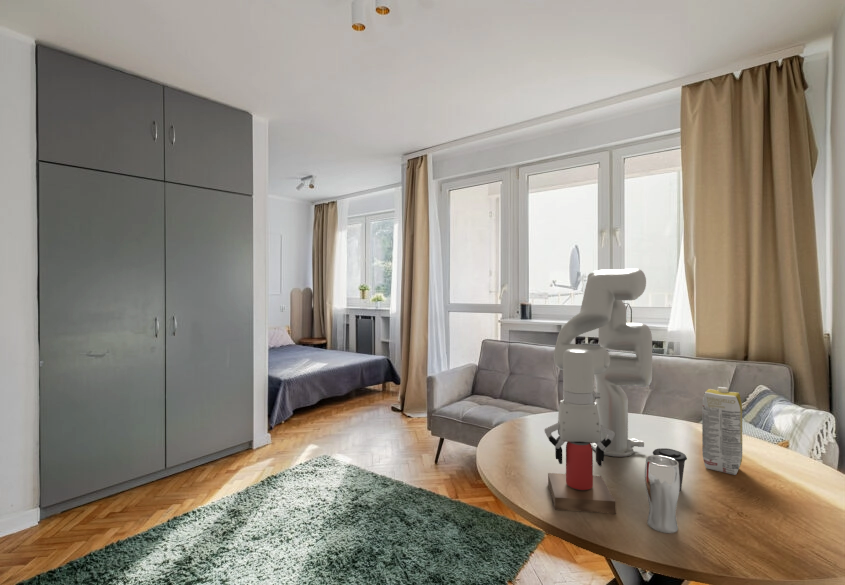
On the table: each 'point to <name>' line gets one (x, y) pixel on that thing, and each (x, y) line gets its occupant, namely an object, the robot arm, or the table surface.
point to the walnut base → (581, 496)
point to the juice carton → (722, 430)
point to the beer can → (579, 465)
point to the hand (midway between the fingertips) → (579, 462)
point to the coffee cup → (674, 455)
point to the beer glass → (662, 492)
